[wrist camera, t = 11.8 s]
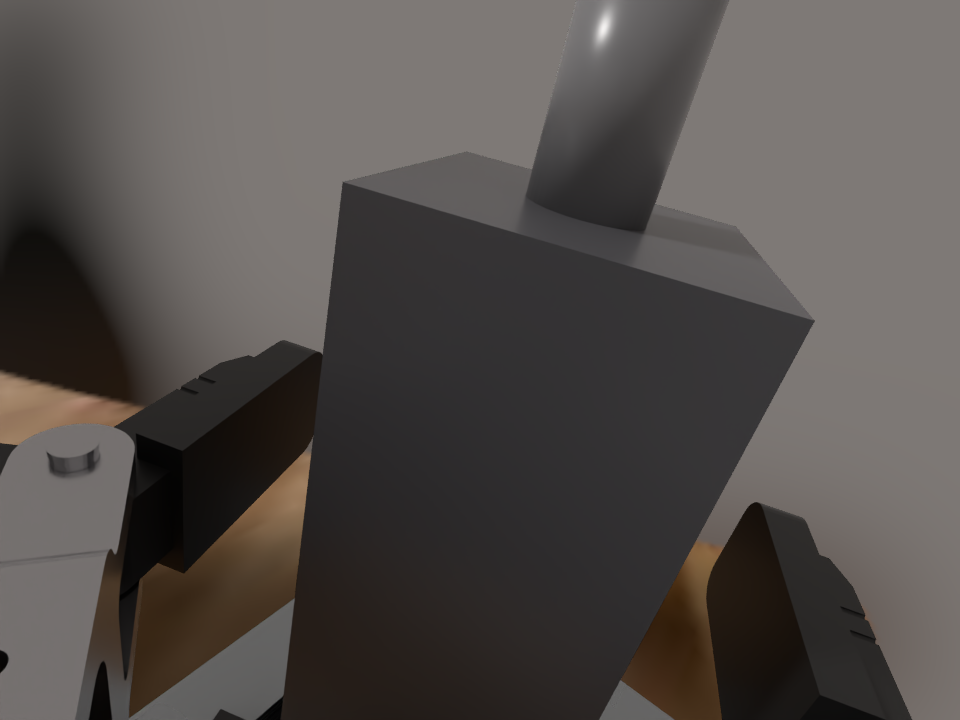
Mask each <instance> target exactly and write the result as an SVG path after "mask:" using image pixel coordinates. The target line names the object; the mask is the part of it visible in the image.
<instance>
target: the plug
mask: <svg viewBox="0 0 960 720" xmlns="http://www.w3.org/2000/svg"><path fill="white" fill-rule="evenodd" d="M728 2H729V0H576V3H575V7H574V11H573V15H572V19H571V23H570V26H569V30H568V35H567V38H566V42H565V46H564V50H563V54H562V57H561V61H560V65H559V69H558V73H557V76H556V80H555V84H554V88H553V92H552V96H551V99H550V104H549V107H548V111H547V115H546V119H545V123H544V126H543V130H542V134H541V138H540V142H539V146H538V149H537V153H536V157H535V161H534V165H533V169H532V170H531V169H527V168H523V167H520V166H516V165H513V164H509V163H505V162H502V161H498V160H495V159H491V158H487V157H484V156H480V155H476V154H473V153H469V152H464V153H459V154H456V155H452V156H447V157H443V158H439V159H435V160H431V161H427V162H423V163H419V164H414V165H411V166H406V167H402V168H398V169H394V170H390V171H386V172H382V173H378V174H374V175H370V176H365V177H361V178H357V179H353V180H349V181H345V182H343V185H342V193H341V202H340V211H339V220H338V228H337V237H336V245H335V254H334V263H333V272H332V281H331V289H330V297H329V306H328V315H327V323H326V332H325V341H324V349H323V358H322V366H321V375H320V384H319V392H318V401H317V410H316V418H315V427H314V436H313V445H312V453H311V462H310V470H309V479H308V487H307V496H306V505H305V513H304V522H303V531H302V539H301V548H300V557H299V565H298V574H297V583H296V591H295V600H294V609H293V617H292V626H291V634H290V643H289V652H288V660H287V669H286V678H285V686H284V695H283V704H282V712H281V720H599V719H600V717H601V715H602V713H603V712H604V710H605V708H606V706H607V704H608V702H609V700H610V699H611V697H612V695H613V693H614V691H615V689H616V688H617V686H618V684H619V682H620V680H621V678H622V676H623V675H624V673H625V671H626V669H627V667H628V665H629V663H630V662H631V660H632V658H633V656H634V654H635V652H636V651H637V649H638V647H639V645H640V643H641V641H642V639H643V638H644V636H645V634H646V632H647V630H648V628H649V626H650V625H651V623H652V621H653V619H654V617H655V615H656V614H657V612H658V610H659V608H660V606H661V604H662V602H663V601H664V599H665V597H666V595H667V593H668V591H669V589H670V588H671V586H672V584H673V582H674V580H675V578H676V577H677V575H678V573H679V571H680V569H681V567H682V565H683V564H684V562H685V560H686V558H687V556H688V554H689V552H690V551H691V549H692V547H693V545H694V543H695V541H696V540H697V538H698V536H699V534H700V532H701V530H702V528H703V527H704V525H705V523H706V521H707V519H708V517H709V515H710V514H711V512H712V510H713V508H714V506H715V504H716V502H717V501H718V499H719V497H720V495H721V493H722V491H723V490H724V488H725V486H726V484H727V482H728V480H729V478H730V477H731V475H732V472H733V471H734V469H735V467H736V466H737V464H738V462H739V460H740V458H741V456H742V454H743V452H744V451H745V448H746V447H747V445H748V443H749V441H750V439H751V438H752V436H753V434H754V432H755V430H756V428H757V427H758V425H759V423H760V421H761V419H762V417H763V416H764V414H765V412H766V410H767V408H768V406H769V404H770V403H771V401H772V399H773V397H774V395H775V393H776V392H777V389H778V388H779V386H780V383H781V382H782V380H783V378H784V377H785V375H786V373H787V371H788V369H789V367H790V366H791V364H792V362H793V360H794V358H795V356H796V355H797V353H798V351H799V349H800V347H801V345H802V343H803V342H804V340H805V338H806V336H807V334H808V332H809V330H810V328H811V327H812V325H813V323H814V319H813V318H812V317H811V316H810V315H809V313H808V312H807V311H806V310H805V309H804V308H803V306H802V305H801V304H800V303H799V301H798V300H797V299H796V298H795V297H794V295H793V294H792V293H791V292H790V291H789V290H788V288H787V287H786V286H785V285H784V284H783V282H782V281H781V280H780V279H779V278H778V276H777V275H776V274H775V273H774V272H773V270H772V269H771V268H770V267H769V266H768V265H767V263H766V262H765V261H764V260H763V258H762V257H761V256H760V255H759V254H758V252H757V251H756V250H755V249H754V248H753V247H752V245H751V244H750V243H749V242H748V241H747V239H746V238H745V237H744V236H743V235H742V233H741V232H740V231H739V230H738V229H737V227H735V226H732V225H728V224H725V223H721V222H717V221H714V220H710V219H707V218H703V217H700V216H696V215H692V214H689V213H685V212H681V211H678V210H675V209H671V208H667V207H664V206H660V205H657V204H655V202H656V200H657V197H658V194H659V191H660V189H661V186H662V183H663V180H664V177H665V175H666V172H667V169H668V166H669V164H670V161H671V158H672V156H673V153H674V150H675V147H676V145H677V142H678V139H679V137H680V134H681V131H682V128H683V126H684V123H685V120H686V117H687V114H688V112H689V109H690V106H691V103H692V101H693V98H694V95H695V93H696V90H697V87H698V84H699V81H700V79H701V76H702V73H703V71H704V68H705V65H706V62H707V60H708V57H709V54H710V51H711V49H712V46H713V43H714V40H715V38H716V35H717V32H718V29H719V27H720V24H721V21H722V18H723V16H724V13H725V10H726V7H727V5H728Z"/></svg>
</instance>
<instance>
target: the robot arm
mask: <svg viewBox="0 0 960 720" xmlns="http://www.w3.org/2000/svg"><path fill="white" fill-rule="evenodd" d="M322 358H323V355H322V354H321V353H320V352H317V351H315V350H311V349H309V348H306V347H303V346H300V345H297V344H294V343H291V342H288V341H285V340H283V341H280V342H278V343H276V344H275V345H273V346H271V347H270V348H268V349H267V350H265V351H264V352H262V353H261V354H259V355H257V356H256V357H252V356H249V355H248V356H245V357H241V358H237V359H234V360H229V361H226V362H222V363H219V364H218V365H216V366H214V367H213V368H211V369H209V370H208V371H206V372H205V373H203V374H201V375H200V376H199V378H198V379H196V378H195V379H193V380H191V381H190V382H188V383H186V384H185V385H183V386H182V387H181V389H180V390H178V389H176V390H175V391H173V392H171V393H170V394H168V395H166V396H165V397H163V398H161V399H160V400H158V401H156V402H155V403H153V404H151V405H150V406H148V407H146V408H145V409H143V410H141V411H140V412H138V413H136V414H135V415H133V416H131V417H130V418H128V419H126V420H125V421H123V422H121V423H120V424H118V425H116V426H115V427H111V426H106V425H100V424H72V425H66V426H61V427H56V428H52V429H49V430H46V431H43V432H40V433H38V434H36V435H34V436H32V437H30V438H28V439H26V440H25V441H23V442H22V443H21V444H19V445H11V444H2V443H0V720H129V703H130V692H131V684H132V675H133V667H134V658H135V650H136V641H137V633H138V624H139V615H140V607H141V598H142V590H143V582H142V577H143V576H144V575H145V574H146V573H147V572H148V571H149V570H150V569H151V568H152V567H154V566H155V565H156V564H157V563H160V564H162V565H164V566H167V567H169V568H172V569H174V570H177V571H179V572H181V573H185V572H186V571H187V570H188V569H189V568H190V567H191V566H192V565H193V564H194V563H195V562H196V561H197V560H198V559H199V558H200V557H201V556H202V555H203V554H204V553H205V551H206V550H207V549H208V548H209V547H210V546H211V545H212V544H213V543H214V542H215V541H216V540H217V539H218V538H219V537H220V536H221V535H222V534H223V533H224V532H225V531H226V530H227V529H228V528H229V527H230V526H231V525H232V524H233V523H234V522H235V521H236V520H237V519H238V518H239V517H240V516H241V515H242V514H243V513H244V512H245V511H246V510H247V509H248V508H249V507H250V506H251V505H252V504H253V503H254V502H255V501H256V500H257V499H258V498H259V497H260V496H261V495H262V494H263V493H264V492H265V491H266V490H267V489H268V488H269V487H270V486H271V485H272V484H273V483H274V482H275V481H276V480H277V479H278V478H279V477H280V475H281V474H282V473H283V472H284V471H285V470H286V469H287V468H288V467H289V466H290V465H291V464H292V463H293V462H294V461H295V460H296V459H297V458H298V457H299V456H300V455H301V454H302V453H303V452H304V451H305V450H306V448H307V447H308V445H309V443H310V442H311V439H312V437H313V435H314V427H315V418H316V410H317V401H318V392H319V384H320V375H321V366H322ZM706 600H707V609H708V616H709V624H710V631H711V639H712V646H713V654H714V661H715V669H716V676H717V683H718V691H719V698H720V706H721V713H722V720H912V719H911V716H910V714H909V712H908V710H907V707H906V706H905V703H904V701H903V698H902V696H901V694H900V692H899V689H898V687H897V685H896V683H895V680H894V678H893V676H892V674H891V671H890V670H889V667H888V665H887V662H886V660H885V658H884V656H883V653H882V651H881V649H880V647H879V645H876V644H875V640H876V638H875V636H874V633H873V631H872V629H871V627H870V624H869V622H868V621H867V620H865V619H864V618H865V613H864V611H863V609H862V606H861V604H860V602H859V600H858V597H857V595H856V593H855V591H854V588H853V586H852V585H851V584H850V583H849V582H848V581H847V579H846V578H845V577H844V576H843V574H842V573H841V572H840V571H839V570H838V568H837V567H836V566H835V565H834V564H833V563H832V561H831V560H830V559H829V558H826V557H824V556H821V555H819V553H818V550H817V548H816V545H815V543H814V540H813V538H812V536H811V533H810V531H809V528H808V525H807V523H806V521H805V520H804V519H803V518H802V517H799V516H796V515H793V514H790V513H787V512H785V511H782V510H779V509H776V508H773V507H770V506H767V505H764V504H761V503H758V502H755V503H753V504H751V505H750V506H749V507H748V508H747V509H746V511H745V513H744V514H743V516H742V518H741V519H740V521H739V523H738V524H737V526H736V528H735V530H734V531H733V533H732V535H731V537H730V538H729V540H728V542H727V544H726V545H725V547H724V549H723V551H722V552H721V554H720V556H719V557H718V559H717V561H716V563H715V565H714V566H713V569H712V571H711V574H710V577H709V581H708V586H707V595H706ZM213 720H245V719H243V718H241V717H238V716H236V715H234V714H231V713H229V712H227V711H225V710H222V709H220V710H219V712H218V713H217V715H216V716H215V718H214V719H213Z"/></svg>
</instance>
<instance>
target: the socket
mask: <svg viewBox="0 0 960 720" xmlns="http://www.w3.org/2000/svg"><path fill="white" fill-rule="evenodd" d="M294 600H295V598H294V599H293V600H292V601H290V602H289V603H287V604H286V605H285V606H283V607H282V608H280V609H279V610H278V611H276V612H275V613H274V614H272V615H271V616H269V617H268V618H267V619H265V620H264V621H263V622H261V623H260V624H258V625H257V626H256V627H254V628H253V629H252V630H250V631H249V632H247V633H246V634H245V635H243V636H242V637H240V638H239V639H238V640H236V641H235V642H234V643H232V644H231V645H229V646H228V647H227V648H225V649H224V650H223V651H221V652H220V653H218V654H217V655H216V656H214V657H213V658H211V659H210V660H209V661H207V662H206V663H205V664H203V665H202V666H200V667H199V668H198V669H196V670H195V671H194V672H192V673H191V674H189V675H188V676H187V677H185V678H184V679H183V680H181V681H180V682H178V683H177V684H176V685H174V686H173V687H171V688H170V689H169V690H167V691H166V692H165V693H163V694H162V695H160V696H159V697H158V698H156V699H155V700H154V701H152V702H151V703H149V704H148V705H147V706H145V707H144V708H142V709H141V710H140V711H138V712H137V713H136V714H134V715H133V716H131V717H130V718H129V720H213V719H214V718H215V716H216V715H217V713H218V712H219V710H220V709H222V710H225V711H227V712H229V713H231V714H234V715H236V716H238V717H241V718H243V719H245V720H281V712H282V704H283V695H284V686H285V678H286V669H287V660H288V652H289V643H290V634H291V626H292V617H293V609H294ZM599 720H674V719H673V718H671V717H670V716H669V715H667V714H666V713H665V712H663V711H662V710H660V709H659V708H658V707H656V706H655V705H654V704H652V703H651V702H650V701H648V700H647V699H646V698H644V697H643V696H641V695H640V694H639V693H637V692H636V691H635V690H633V689H632V688H631V687H629V686H628V685H626V684H625V683H624V682H622V681H621V680H620V682H619V684H618V686H617V688H616V689H615V691H614V693H613V695H612V697H611V699H610V700H609V702H608V704H607V706H606V708H605V710H604V712H603V713H602V715H601V717H600V719H599Z"/></svg>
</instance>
